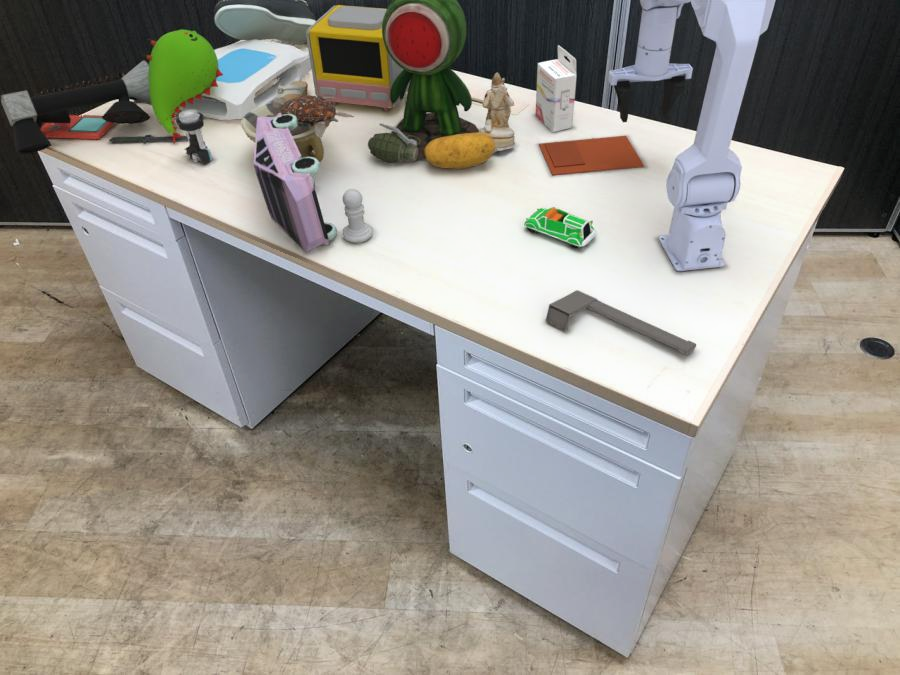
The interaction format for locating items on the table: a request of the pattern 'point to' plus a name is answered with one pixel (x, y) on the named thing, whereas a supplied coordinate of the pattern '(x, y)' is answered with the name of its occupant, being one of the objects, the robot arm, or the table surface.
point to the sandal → (292, 90)
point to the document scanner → (250, 77)
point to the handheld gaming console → (78, 127)
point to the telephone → (75, 106)
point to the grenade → (393, 146)
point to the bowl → (301, 136)
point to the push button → (194, 135)
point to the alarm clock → (352, 57)
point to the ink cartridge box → (556, 91)
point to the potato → (460, 150)
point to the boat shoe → (265, 19)
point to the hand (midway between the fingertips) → (643, 118)
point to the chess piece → (355, 218)
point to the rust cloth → (590, 155)
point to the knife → (145, 139)
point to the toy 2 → (309, 111)
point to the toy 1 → (179, 73)
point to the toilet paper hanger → (579, 301)
